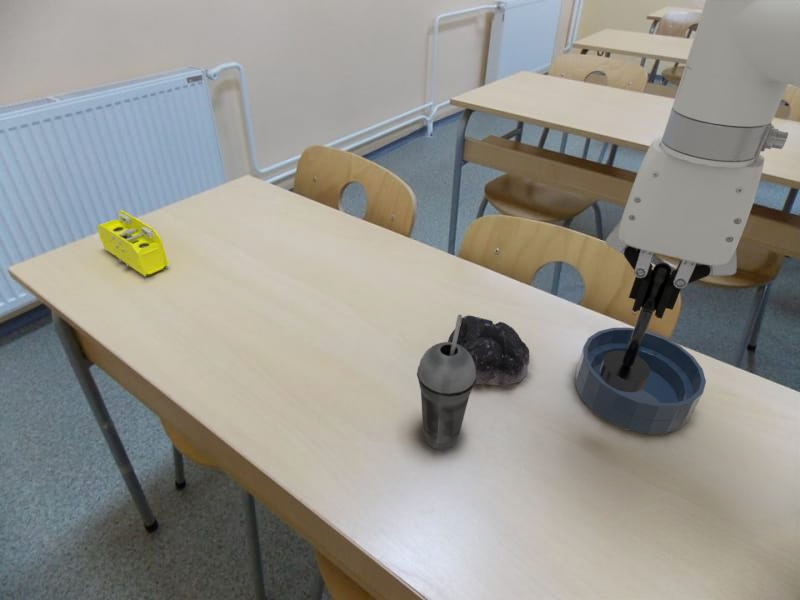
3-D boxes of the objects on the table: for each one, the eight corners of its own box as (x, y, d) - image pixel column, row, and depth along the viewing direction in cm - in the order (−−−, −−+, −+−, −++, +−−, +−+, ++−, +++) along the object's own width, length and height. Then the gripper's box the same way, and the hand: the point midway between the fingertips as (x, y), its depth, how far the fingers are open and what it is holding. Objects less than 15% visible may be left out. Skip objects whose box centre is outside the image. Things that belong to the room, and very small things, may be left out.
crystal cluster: (482, 327, 90) (481, 279, 84) (550, 360, 82) (555, 310, 76) (430, 368, 83) (425, 319, 77) (499, 409, 74) (499, 358, 69)
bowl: (716, 419, 73) (732, 388, 70) (622, 450, 68) (635, 419, 65) (636, 347, 85) (647, 318, 82) (553, 369, 81) (561, 340, 77)
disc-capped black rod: (655, 386, 60) (705, 271, 51) (619, 397, 58) (664, 281, 49) (624, 357, 64) (665, 246, 55) (590, 367, 62) (626, 255, 53)
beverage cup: (402, 431, 70) (406, 314, 59) (443, 407, 74) (454, 293, 62) (437, 468, 66) (449, 349, 54) (479, 440, 69) (498, 324, 57)
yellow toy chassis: (172, 268, 102) (161, 231, 97) (144, 280, 99) (132, 242, 94) (130, 242, 110) (119, 206, 105) (104, 252, 107) (90, 215, 102)
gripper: (816, 139, 44) (731, 311, 55) (624, 111, 50) (581, 271, 61) (826, 168, 39) (729, 352, 49) (609, 132, 45) (565, 304, 55)
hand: (648, 306), depth 55 cm, fingers closed on disc-capped black rod
